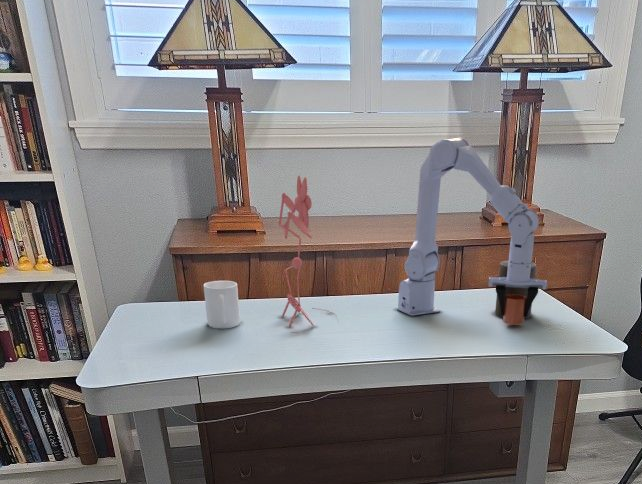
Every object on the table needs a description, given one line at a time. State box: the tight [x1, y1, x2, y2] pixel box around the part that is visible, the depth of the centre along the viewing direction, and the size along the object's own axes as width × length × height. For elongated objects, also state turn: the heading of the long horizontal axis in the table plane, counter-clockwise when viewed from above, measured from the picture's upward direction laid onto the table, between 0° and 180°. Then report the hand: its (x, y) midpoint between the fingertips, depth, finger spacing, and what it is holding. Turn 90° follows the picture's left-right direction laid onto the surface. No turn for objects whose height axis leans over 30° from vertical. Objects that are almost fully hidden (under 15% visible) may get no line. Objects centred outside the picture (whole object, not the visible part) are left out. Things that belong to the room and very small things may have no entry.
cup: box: [203, 280, 241, 330], centre depth 176 cm, size 8×12×10 cm
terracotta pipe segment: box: [502, 294, 527, 326], centre depth 181 cm, size 5×6×6 cm
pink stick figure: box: [278, 175, 339, 334], centre depth 176 cm, size 15×26×35 cm, turn 19°
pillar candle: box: [494, 260, 537, 320], centre depth 188 cm, size 10×10×15 cm
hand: (514, 315), depth 182 cm, fingers closed on terracotta pipe segment, 5 cm apart
